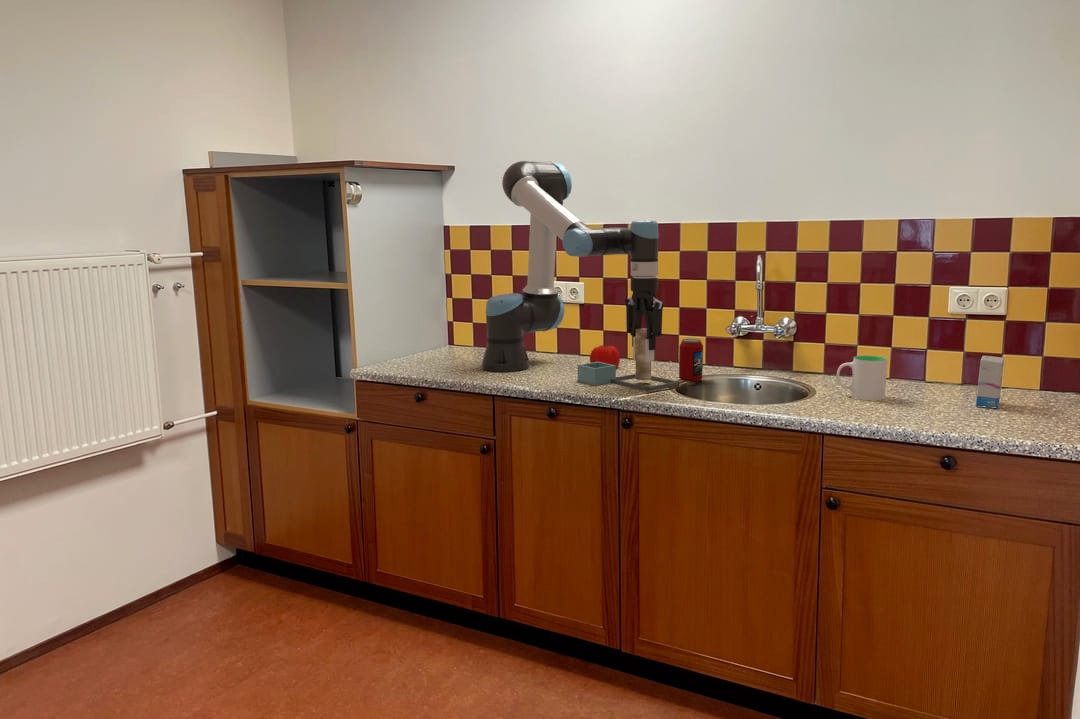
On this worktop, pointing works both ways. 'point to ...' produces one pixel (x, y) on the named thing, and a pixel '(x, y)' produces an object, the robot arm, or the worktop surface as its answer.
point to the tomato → (605, 355)
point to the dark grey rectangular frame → (668, 384)
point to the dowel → (642, 356)
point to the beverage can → (691, 360)
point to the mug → (867, 377)
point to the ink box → (989, 381)
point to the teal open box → (596, 373)
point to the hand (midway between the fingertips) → (643, 360)
